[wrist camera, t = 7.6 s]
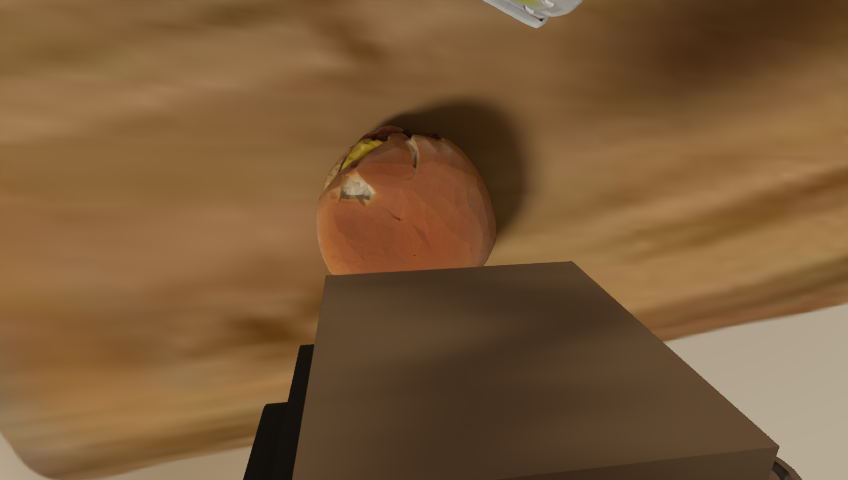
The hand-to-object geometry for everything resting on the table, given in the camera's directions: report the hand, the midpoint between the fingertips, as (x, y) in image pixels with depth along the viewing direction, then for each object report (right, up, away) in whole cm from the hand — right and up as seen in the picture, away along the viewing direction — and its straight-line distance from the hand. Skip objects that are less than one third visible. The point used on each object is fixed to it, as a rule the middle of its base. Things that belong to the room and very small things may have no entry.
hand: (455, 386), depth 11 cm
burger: (-2, +5, +15) cm, 16 cm away
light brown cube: (0, 0, +1) cm, 1 cm away
